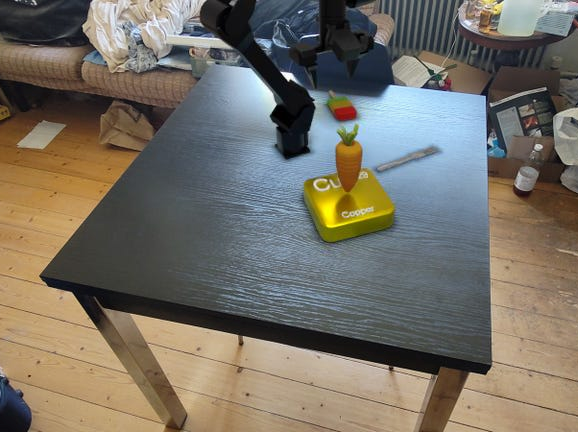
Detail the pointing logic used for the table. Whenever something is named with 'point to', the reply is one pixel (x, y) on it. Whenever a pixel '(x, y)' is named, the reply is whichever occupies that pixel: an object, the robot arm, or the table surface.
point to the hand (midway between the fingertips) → (332, 83)
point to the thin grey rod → (408, 158)
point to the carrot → (348, 158)
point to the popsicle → (341, 107)
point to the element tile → (348, 206)
